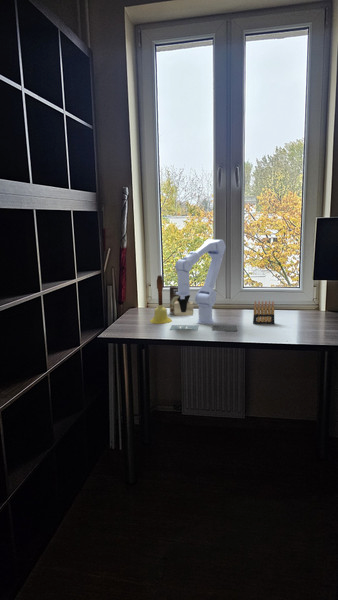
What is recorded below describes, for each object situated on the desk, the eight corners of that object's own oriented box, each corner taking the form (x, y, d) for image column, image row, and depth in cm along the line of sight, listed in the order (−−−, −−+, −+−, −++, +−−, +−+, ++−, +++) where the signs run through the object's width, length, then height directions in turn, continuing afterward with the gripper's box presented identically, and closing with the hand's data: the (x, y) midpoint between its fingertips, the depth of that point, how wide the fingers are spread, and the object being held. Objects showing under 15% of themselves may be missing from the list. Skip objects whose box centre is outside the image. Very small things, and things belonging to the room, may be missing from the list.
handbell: (164, 325, 214) (162, 277, 210) (145, 322, 221) (143, 276, 216) (176, 320, 225) (175, 274, 220) (158, 317, 231) (156, 273, 227)
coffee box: (169, 315, 237) (169, 287, 234) (169, 312, 244) (169, 285, 241) (185, 314, 237) (185, 287, 234) (185, 312, 243) (185, 285, 240)
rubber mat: (212, 325, 211) (212, 325, 211) (236, 326, 209) (236, 325, 209) (212, 331, 201) (212, 330, 201) (237, 331, 200) (237, 330, 199)
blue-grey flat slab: (171, 325, 214) (171, 325, 214) (198, 325, 212) (198, 325, 212) (169, 330, 204) (169, 330, 204) (197, 330, 202) (197, 330, 202)
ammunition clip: (273, 323, 213) (274, 300, 211) (274, 324, 211) (275, 301, 209) (252, 323, 214) (253, 300, 212) (253, 324, 212) (253, 301, 210)
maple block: (175, 313, 210) (175, 301, 208) (193, 313, 208) (193, 301, 207) (174, 315, 205) (174, 303, 204) (192, 315, 204) (192, 303, 202)
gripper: (177, 281, 211) (177, 307, 214) (173, 286, 197) (174, 314, 200) (191, 281, 210) (191, 307, 213) (188, 286, 196) (189, 314, 199)
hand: (184, 310), depth 206 cm, fingers closed on maple block, 5 cm apart
